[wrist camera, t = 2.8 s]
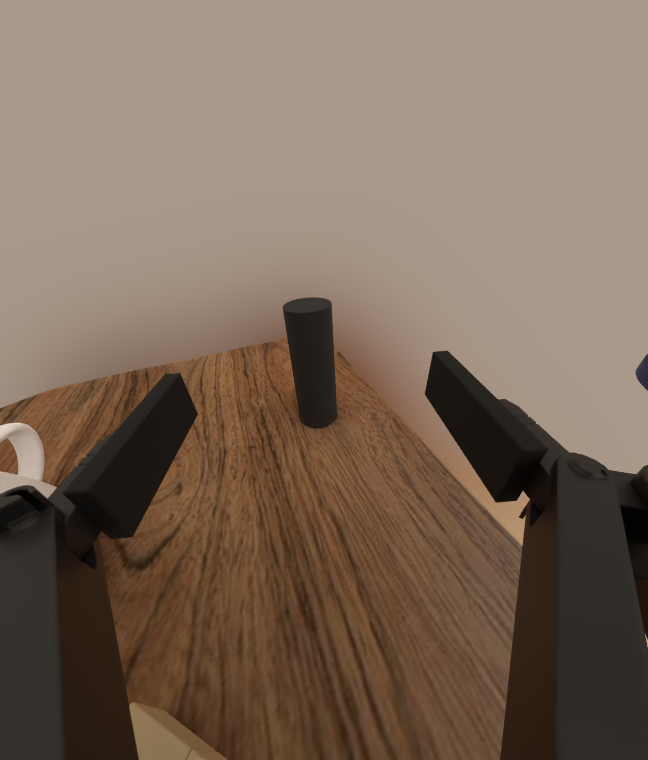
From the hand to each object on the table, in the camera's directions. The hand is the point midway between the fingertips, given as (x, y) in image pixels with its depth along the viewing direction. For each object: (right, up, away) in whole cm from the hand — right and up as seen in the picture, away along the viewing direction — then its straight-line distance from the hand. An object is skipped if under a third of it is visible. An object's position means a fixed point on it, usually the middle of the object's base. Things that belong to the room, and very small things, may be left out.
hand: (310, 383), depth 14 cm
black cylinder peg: (0, -4, +14) cm, 14 cm away
